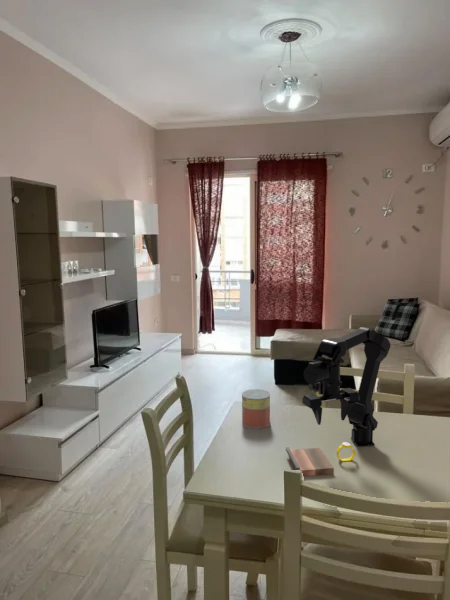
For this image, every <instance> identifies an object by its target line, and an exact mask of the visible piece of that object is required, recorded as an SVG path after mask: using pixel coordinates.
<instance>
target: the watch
mask: <svg viewBox="0 0 450 600" xmlns="http://www.w3.org/2000/svg"><path fill="white" fill-rule="evenodd" d="M343 448H346V449H347V448H348V449H349V448H351V450H352V453H351V455H350V456H349V457H347V458H341V457H340V451H341V450H342V449H343ZM355 456H356V450H355V448H354V446H352V445H351V443H349V442H347V441H346V442H345V441H343V442H342V443H341V444H340V445H339V446H338V447H337V449H336V457H337V458H338V459H339V461H341V462H351V461H352V460H353V459H354V458H355Z"/></svg>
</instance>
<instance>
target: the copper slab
mask: <svg viewBox="0 0 450 600" xmlns="http://www.w3.org/2000/svg"><path fill="white" fill-rule="evenodd" d="M285 452H286V454H287V455H288V457H289V459H290V461H291V462H292V465H293V467H294V469H295V471H296V470H300V471H302V473H303V476H302V477H309V476H310V477H313V476H325V475H334V474H335V473H334V472H335V470H334V469H335V468H334V466H333V465H332V463H331V461H330V460H329V459H328V458H327V456H326V454H325V453H324V452H323V450H322V449H321V448H320V447H311V448H299V449H298V448H297V449H296V448H295V449H290V448H289V447H288V446H286V447H285Z"/></svg>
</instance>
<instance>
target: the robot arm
mask: <svg viewBox="0 0 450 600" xmlns="http://www.w3.org/2000/svg"><path fill="white" fill-rule="evenodd" d="M360 344H362V345H364V348H363V351H364V355H365V364H364V366H363V367H364V368H363V370H362V371H363V372H362V375H361V379H360V384H359V388H358V391H357V390H354V389H353V388H351V387H347V388H342V389H341V386H343V381H341V364H344V363H345V360H344V359H343V357H344V356H346V355H347V352H348V350H350V349H353V348H355V347H357V346H359V345H360ZM390 349H391V342H390V340H389V339H388V337H385V336H383V335H382V334H381V333H378V332H377V331H376V330H375V329H373V328H371V327H365V326H361V327H359V328H358V329H357V330H354V331H351V332H349V333H346V334H344V335H343V336H339V337H331V338H326V339H322V341H321V342H320V344H319V345H318V348H317V349H316V352H315V354H314V356H313V359H312V361H311V362H308V363H307V364H308V365H307V366H306V367H305V368H304V371H303V372H302V373H303V378H304V381H305V382H306V383H308V389H309V391H313V393H310V394H304V395H303V396H302V404H303V405H304V406H306V407H308V408H309V409H311V411H312V413H313V415H314V417H315V420H316V423H317V425H318V426H320V425H321V423H322V418H323V417H322V415H323V407H321V406H322V404H323V403H325V402H331V401H338V400H339V401H340V419H341V420H342V421H345V419H346V417H347V419H348V423H349V424H350V425H352V429H351V437H350V440H351V441H352V442H353V443H354V444H355V445H356V447H368V446H376V445H375V443H374V441H373V440H374V439H373V438H374V435H373V434H374V431H376V429H377V428H378V424H379V422H378V421H377V420H376V418H375V417H374V416H373V415H374V411H375V410H374V408H373V404H372V398H373V394H374V390H375V386H376V382H377V378H378V374H379V370H380V366H381V363H382V362H383V361H384V360H385V358H387V357H388V354H389V351H390ZM314 393H315V394H314ZM316 393H318V394H319V395H321V396H318V395H316Z"/></svg>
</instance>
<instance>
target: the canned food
mask: <svg viewBox="0 0 450 600" xmlns="http://www.w3.org/2000/svg"><path fill="white" fill-rule="evenodd" d="M241 409H242V410H241V417H242V418H241V419H242V420H241V424H242V425H243V426H244V427H246V428H249V429H263V428H266V427H267V428H268V426H270V424H271V393H270V392H269V391H268V390H264V389H257V388H256V389H255V388H254V389H248V390H245V391H243V392H242V393H241Z"/></svg>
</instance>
